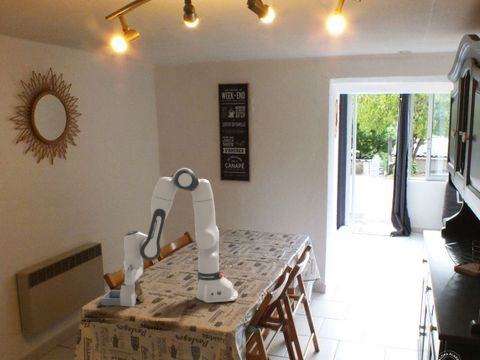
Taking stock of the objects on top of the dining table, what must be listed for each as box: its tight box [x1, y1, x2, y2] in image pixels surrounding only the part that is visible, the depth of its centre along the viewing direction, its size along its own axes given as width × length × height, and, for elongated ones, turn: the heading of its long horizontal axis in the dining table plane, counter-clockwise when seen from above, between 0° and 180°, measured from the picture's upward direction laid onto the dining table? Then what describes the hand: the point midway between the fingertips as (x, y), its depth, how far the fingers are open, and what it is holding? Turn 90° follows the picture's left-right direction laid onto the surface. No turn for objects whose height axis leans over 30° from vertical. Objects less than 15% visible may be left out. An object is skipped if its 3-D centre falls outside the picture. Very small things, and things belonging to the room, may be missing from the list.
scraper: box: [134, 280, 146, 303], centre depth 221 cm, size 3×7×10 cm, turn 29°
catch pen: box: [100, 289, 121, 306], centre depth 221 cm, size 10×12×4 cm
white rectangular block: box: [119, 284, 137, 308], centre depth 216 cm, size 4×7×10 cm, turn 73°
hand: (134, 287), depth 220 cm, fingers closed on scraper, 4 cm apart
